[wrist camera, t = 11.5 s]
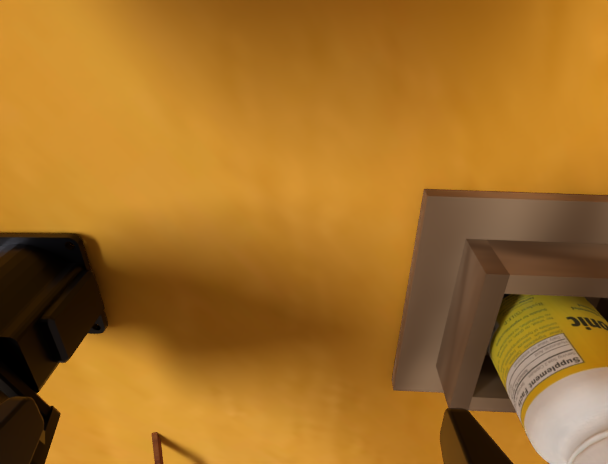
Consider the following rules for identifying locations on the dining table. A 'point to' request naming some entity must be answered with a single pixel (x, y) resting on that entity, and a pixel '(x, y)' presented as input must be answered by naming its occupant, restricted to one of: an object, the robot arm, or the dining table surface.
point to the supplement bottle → (555, 374)
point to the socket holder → (491, 281)
